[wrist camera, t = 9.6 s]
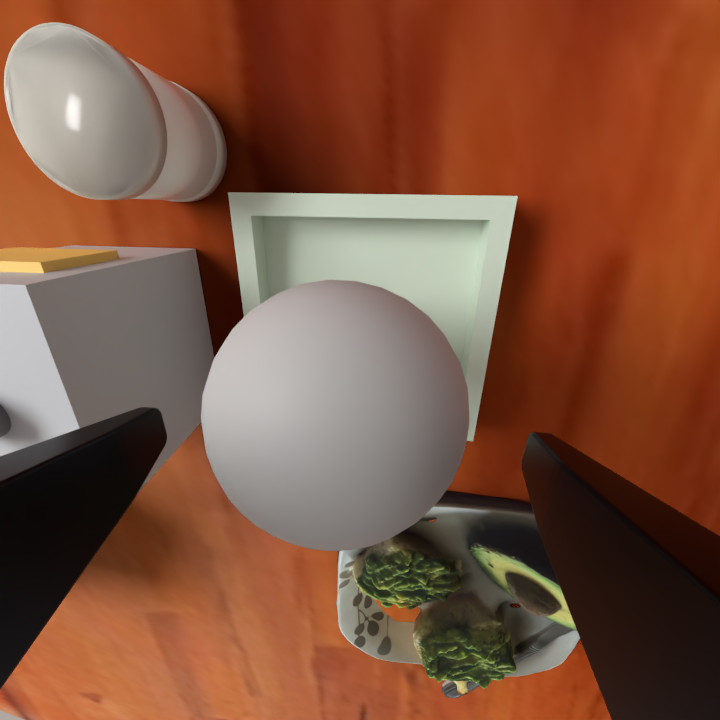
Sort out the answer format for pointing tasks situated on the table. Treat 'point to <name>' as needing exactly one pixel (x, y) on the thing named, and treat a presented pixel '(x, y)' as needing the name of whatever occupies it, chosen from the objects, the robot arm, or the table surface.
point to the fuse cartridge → (109, 120)
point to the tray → (385, 256)
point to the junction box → (100, 340)
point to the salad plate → (459, 595)
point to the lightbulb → (335, 415)
